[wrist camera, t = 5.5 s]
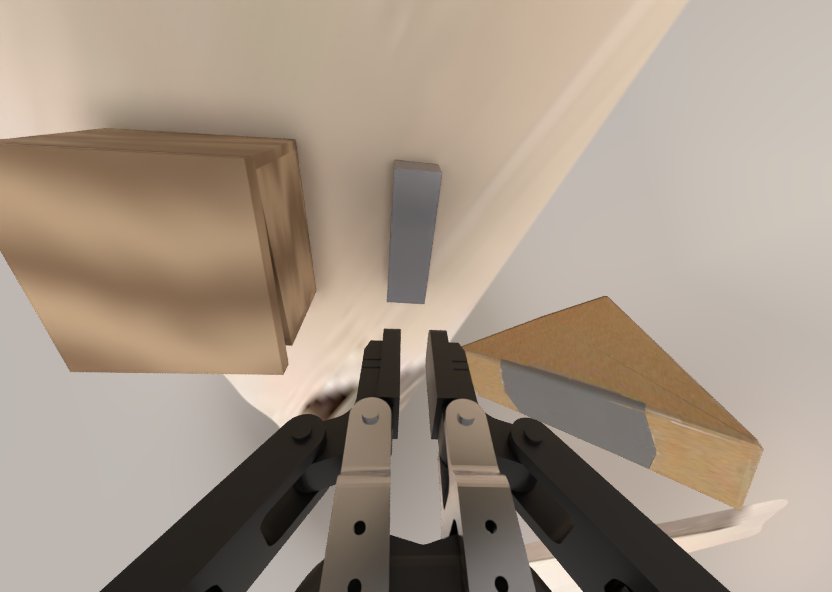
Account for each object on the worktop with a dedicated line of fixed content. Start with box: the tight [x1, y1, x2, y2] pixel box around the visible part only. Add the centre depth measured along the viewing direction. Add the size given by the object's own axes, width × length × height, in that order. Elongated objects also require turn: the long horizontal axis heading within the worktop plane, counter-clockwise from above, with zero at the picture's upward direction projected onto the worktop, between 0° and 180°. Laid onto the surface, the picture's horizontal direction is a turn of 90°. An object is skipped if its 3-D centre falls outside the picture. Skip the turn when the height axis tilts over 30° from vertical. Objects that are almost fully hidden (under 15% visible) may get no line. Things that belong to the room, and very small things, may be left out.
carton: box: [0, 128, 316, 346], centre depth 21 cm, size 12×12×7 cm
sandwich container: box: [461, 296, 763, 510], centre depth 26 cm, size 9×15×15 cm, turn 114°
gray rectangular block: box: [387, 160, 442, 304], centre depth 23 cm, size 10×3×3 cm, turn 174°
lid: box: [0, 143, 288, 375], centre depth 16 cm, size 12×12×1 cm
